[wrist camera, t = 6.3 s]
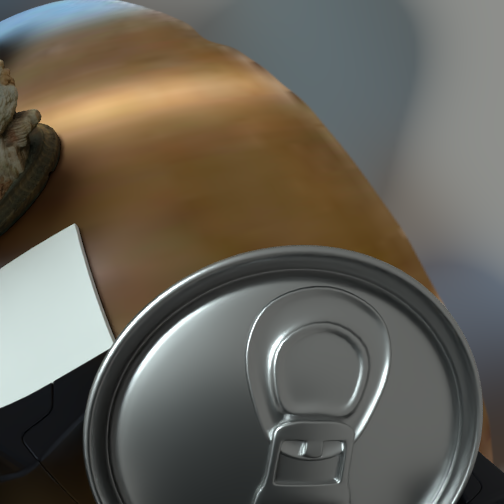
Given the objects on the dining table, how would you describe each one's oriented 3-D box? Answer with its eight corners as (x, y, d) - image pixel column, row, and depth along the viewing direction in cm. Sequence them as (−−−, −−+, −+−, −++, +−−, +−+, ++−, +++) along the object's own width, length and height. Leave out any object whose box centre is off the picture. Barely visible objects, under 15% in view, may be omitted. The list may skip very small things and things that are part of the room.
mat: (156, 425, 15) (153, 427, 14) (9, 469, 12) (5, 470, 11) (78, 227, 19) (74, 223, 18) (-41, 303, 16) (-45, 301, 15)
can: (318, 334, 15) (497, 249, 4) (305, 453, 13) (447, 579, 2) (193, 318, 15) (104, 186, 4) (176, 440, 13) (66, 579, 2)
